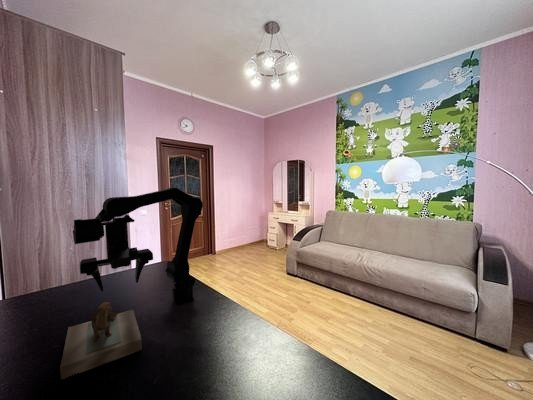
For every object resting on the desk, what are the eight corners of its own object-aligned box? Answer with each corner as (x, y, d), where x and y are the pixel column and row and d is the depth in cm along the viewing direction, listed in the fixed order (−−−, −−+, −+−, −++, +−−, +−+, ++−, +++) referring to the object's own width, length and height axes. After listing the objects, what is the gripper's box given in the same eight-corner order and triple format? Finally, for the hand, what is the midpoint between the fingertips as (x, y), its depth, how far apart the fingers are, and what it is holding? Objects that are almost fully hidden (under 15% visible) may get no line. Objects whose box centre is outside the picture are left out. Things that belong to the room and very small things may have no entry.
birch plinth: (133, 318, 75) (133, 308, 75) (141, 349, 60) (141, 338, 60) (68, 337, 65) (68, 326, 65) (60, 380, 51) (60, 366, 51)
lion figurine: (118, 341, 59) (117, 307, 58) (93, 350, 56) (91, 314, 55) (112, 316, 70) (111, 287, 70) (90, 322, 67) (89, 292, 66)
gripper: (77, 249, 59) (81, 307, 60) (156, 237, 70) (158, 286, 71) (78, 241, 68) (82, 292, 69) (148, 232, 79) (150, 276, 80)
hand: (120, 286), depth 72 cm, fingers open, 9 cm apart
